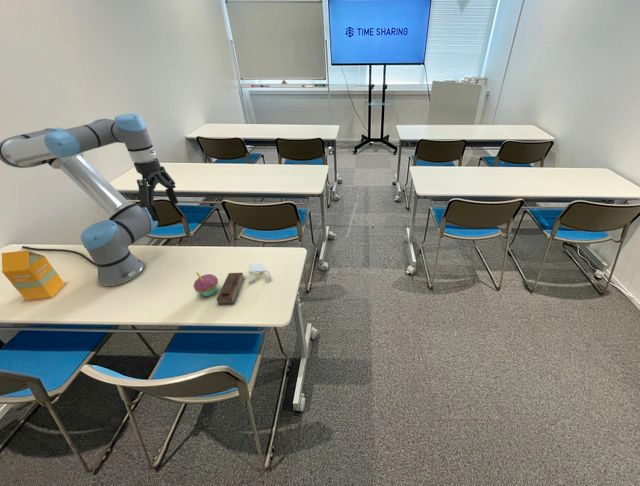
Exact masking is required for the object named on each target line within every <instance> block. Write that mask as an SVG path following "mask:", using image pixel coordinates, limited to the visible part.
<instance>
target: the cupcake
mask: <svg viewBox="0 0 640 486" xmlns="http://www.w3.org/2000/svg"><path fill="white" fill-rule="evenodd" d="M196 275H197V278H196V280H194V283H193V289H194V291H195V292H197V293H200V294H201V295H202V296H204V297H209V296H212V295H214V294H215V293H216V291H217V286H218V284H219V279H218V277H217V276H216V275H215V274H211V273H210V274H203V275H201V274H200V273H199V272H198V271H196Z"/></svg>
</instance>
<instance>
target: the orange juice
mask: <svg viewBox="0 0 640 486" xmlns="http://www.w3.org/2000/svg"><path fill="white" fill-rule="evenodd" d="M1 273H2V274H3V275H4V276H5V277H6V279H7V280H8V281H9V283H11V285H12V286H13V288H14V289H16V290H17V292H18V293H19V294H20V296H22V297H23V299H24V300H26V301H33V300H43V299H51V298H53V297H54V296H55V295H56V294H57V293H58V292H59V291H60V290H61V289H62V288H63V287H64V286H65V282H64V280H63V279H62V278H61V277H60V275H59V274H58V272H57V271H56V269H55V268H54V267H53V266H52V264H51V263H50V261H49V260H48V259H47V257H46V256H45V255H43V254H40V253H36V252H33V251H30V250H23V251H21V250H20V251H10V252H1Z"/></svg>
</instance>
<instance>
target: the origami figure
mask: <svg viewBox="0 0 640 486" xmlns="http://www.w3.org/2000/svg"><path fill="white" fill-rule="evenodd" d="M248 267H249V270H250V272H249V273H250V274H249V276H248V278H247V280H252V281H251V283H254V282H255V281H256V278H254V277H253V275H254V274H256V273H267V274H268V277H267V282H270V279H271V278H272V274H271V273H270V271H269V269H267V267H265V266H264V265H263V264H261V263H248Z"/></svg>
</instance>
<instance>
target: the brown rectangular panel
mask: <svg viewBox="0 0 640 486" xmlns="http://www.w3.org/2000/svg"><path fill="white" fill-rule="evenodd" d="M244 280H245V277H244V273H243V272H228V274H227V276H226V277H225V280H224V282H223V285H222V286H221V289H220V290H219V292H218V295H217V297H216V301H217V304H218V305H219V306H223V305H225V306H226V305H234V304H235V302H236V299H237V298H238V294H239V293H240V290H241V287H242V284H243V282H244Z"/></svg>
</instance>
